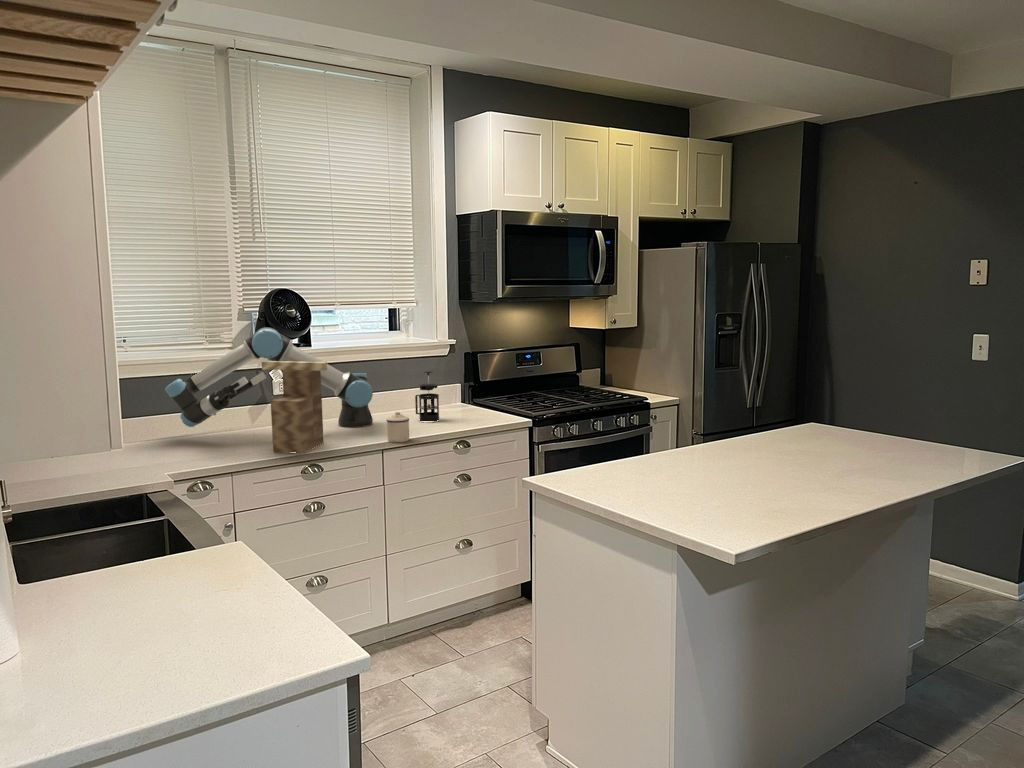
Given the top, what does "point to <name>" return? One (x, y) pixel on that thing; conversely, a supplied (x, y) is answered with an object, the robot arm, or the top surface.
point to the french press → (426, 415)
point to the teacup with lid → (398, 428)
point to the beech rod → (294, 365)
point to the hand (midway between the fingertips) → (255, 377)
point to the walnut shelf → (298, 412)
